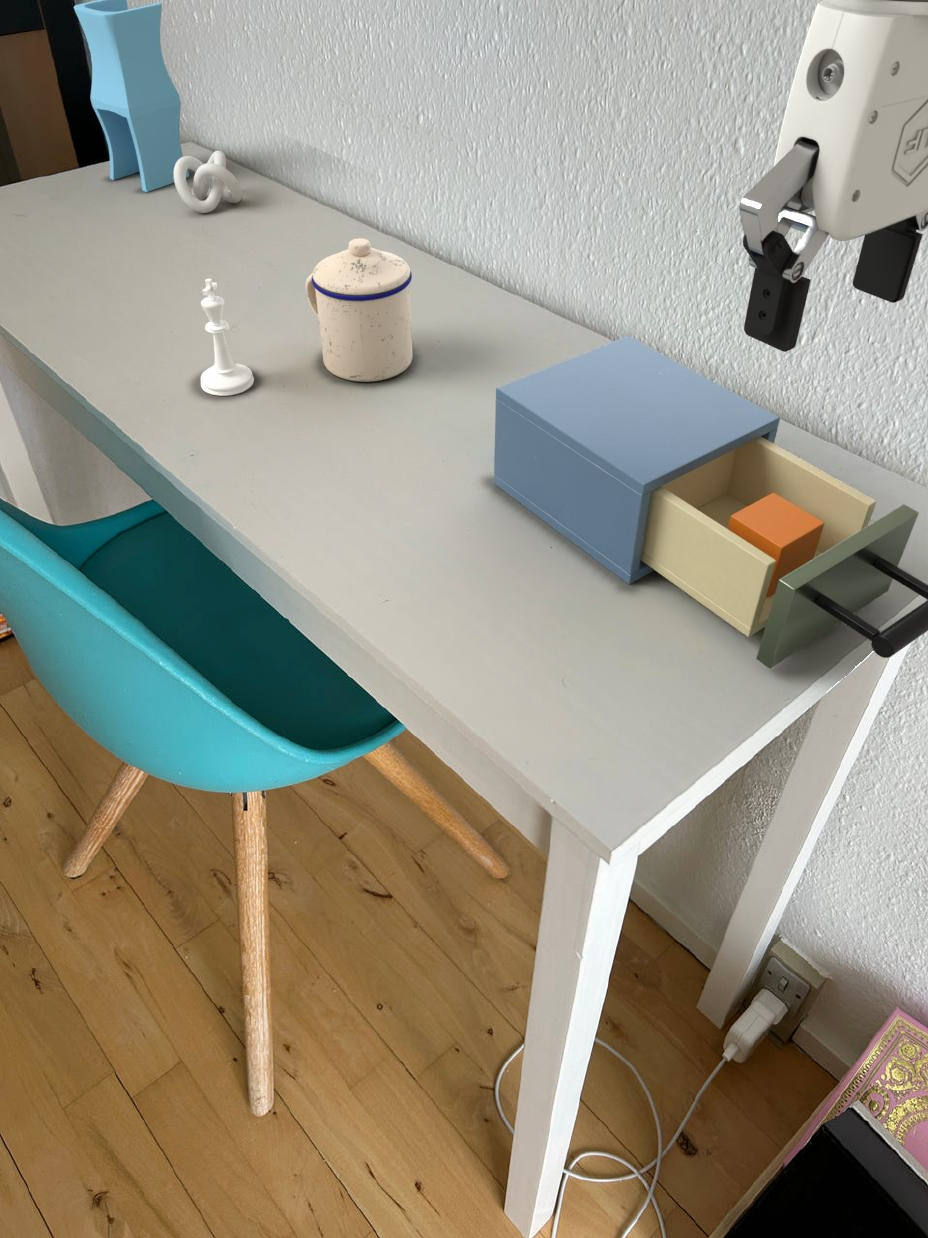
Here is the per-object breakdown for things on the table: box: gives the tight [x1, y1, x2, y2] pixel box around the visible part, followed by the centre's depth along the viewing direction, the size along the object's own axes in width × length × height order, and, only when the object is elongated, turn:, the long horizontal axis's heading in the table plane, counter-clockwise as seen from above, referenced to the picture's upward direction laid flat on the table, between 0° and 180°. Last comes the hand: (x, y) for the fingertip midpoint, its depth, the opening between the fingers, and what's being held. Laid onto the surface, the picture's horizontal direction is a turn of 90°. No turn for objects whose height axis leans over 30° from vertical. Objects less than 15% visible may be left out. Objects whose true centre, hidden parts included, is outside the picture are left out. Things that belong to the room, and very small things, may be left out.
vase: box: [73, 0, 190, 193], centre depth 125 cm, size 8×8×20 cm
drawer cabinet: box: [493, 335, 781, 585], centre depth 75 cm, size 16×14×9 cm
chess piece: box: [200, 278, 255, 397], centre depth 88 cm, size 5×5×10 cm
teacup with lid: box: [304, 237, 414, 383], centre depth 91 cm, size 12×9×12 cm
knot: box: [174, 150, 243, 214], centre depth 122 cm, size 8×8×6 cm
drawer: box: [641, 436, 928, 669], centre depth 66 cm, size 20×13×7 cm, turn 37°
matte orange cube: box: [728, 493, 824, 597], centre depth 67 cm, size 4×4×4 cm
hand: (824, 317), depth 56 cm, fingers open, 9 cm apart
